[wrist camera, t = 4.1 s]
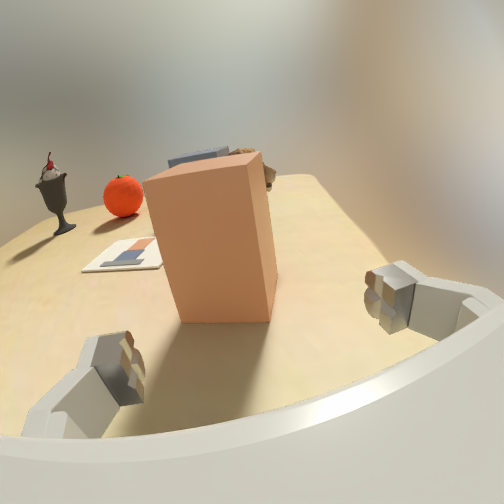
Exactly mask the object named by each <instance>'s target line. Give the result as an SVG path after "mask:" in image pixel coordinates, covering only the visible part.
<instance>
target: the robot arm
mask: <svg viewBox="0 0 504 504" xmlns="http://www.w3.org/2000/svg"><path fill="white" fill-rule="evenodd" d="M365 283H366V285H367V286H368V288H367V290H366V291H365V293H364V303H365V307H366V309H367V311H368V313H369V314H370V315H371V316H372V317H373V318H376V319H379V325H380V326H381V327H382V328H383V329H384V330H385V331H386V332H387V333H388V334H389V335H390V334H393V333H395V332H398V331H400V330H403V329H405V328H407V327H408V328H409V329H411V330H414V331H416V332H418V333H421V334H423V335H426V336H428V337H430V338H433V339H435V340H438V341H439V342H438V343H436V344H434V345H432V346H430V347H428V348H427V349H425V350H423V351H421V352H419V353H417V354H415V355H413V356H411V357H409V358H407V359H405V360H403V361H401V362H399V363H396V364H394V365H392V366H390V367H388V368H386V369H383V370H381V371H379V372H377V373H374V374H372V375H370V376H367V377H365V378H362V379H360V380H357V381H355V382H352V383H350V384H347V385H345V386H342V387H340V388H337V389H334V390H332V391H329V392H326V393H323V394H321V395H318V396H315V397H312V398H309V399H306V400H303V401H300V402H297V403H293V404H290V405H287V406H284V407H280V408H277V409H273V410H270V411H266V412H263V413H259V414H255V415H251V416H247V417H243V418H239V419H235V420H230V421H226V422H221V423H217V424H212V425H207V426H201V427H196V428H190V429H184V430H178V431H171V432H164V433H156V434H148V435H139V436H128V437H114V438H101V437H102V435H103V434H104V432H105V431H106V429H107V428H108V426H109V424H110V423H111V421H112V420H113V418H114V417H115V415H116V414H117V412H118V411H119V409H120V406H126V405H133V404H139V403H144V386H143V384H142V381H143V380H144V378H145V367H144V362H143V359H142V356H141V354H140V352H139V350H137V349H135V348H134V339H133V337H132V335H131V333H130V332H129V331H122V332H116V333H110V334H103V335H97V336H92V337H88V338H86V340H85V343H84V346H83V349H82V352H81V355H80V358H79V361H78V364H77V367H76V369H72V370H71V371H70V372H69V373H68V374H67V375H66V376H65V377H63V378H62V379H61V380H60V381H59V382H58V383H57V384H56V385H55V386H54V387H53V388H52V389H51V390H50V391H49V392H48V393H47V394H46V395H45V396H44V397H42V398H41V399H40V400H39V401H38V402H37V403H36V404H35V405H34V406H33V407H32V408H31V409H30V410H29V412H28V415H27V418H26V421H25V424H24V427H23V430H22V434H21V437H19V436H9V435H1V434H0V504H504V300H503V299H501V298H500V297H499V296H497V295H496V294H494V293H493V292H491V291H490V290H488V289H487V288H485V287H480V286H475V285H470V284H465V283H460V282H455V281H451V280H445V279H440V278H436V277H430V278H428V277H427V276H425V275H424V274H423V273H421V272H420V271H418V270H417V269H415V268H414V267H412V266H411V265H409V264H408V263H406V262H405V261H401V260H400V261H397V262H394V263H391V264H389V265H386V266H383V267H380V268H377V269H374V270H371V271H368V272H367V273H366V276H365Z"/></svg>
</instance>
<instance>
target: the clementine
mask: <svg viewBox="0 0 504 504" xmlns="http://www.w3.org/2000/svg"><path fill="white" fill-rule="evenodd" d="M103 198H104V203H105V206H106V208H107V209H108V210H109V212H110V213H112V214H113V215H115V216H118V217H127V216H130V215H132V214H134V213H135V212H136V211H137V210H138V209H139V208H140V206H141V203H142V200H143V190H142V188H141V185H140V184H139V183H138V181H136V180H135V179H134V178H132V177H130V176H128V175H124V176H120V177H119V176H118V177H117V178H115V179H113V180H111V181H110V182H109V183H108V185H107V186H106V188H105V191H104V196H103Z"/></svg>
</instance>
